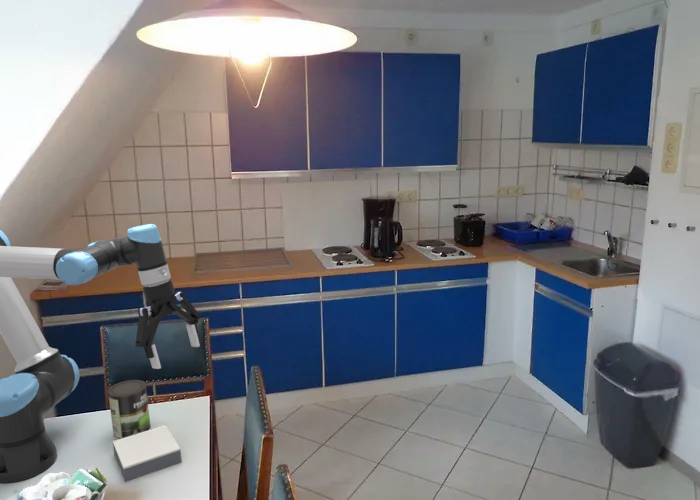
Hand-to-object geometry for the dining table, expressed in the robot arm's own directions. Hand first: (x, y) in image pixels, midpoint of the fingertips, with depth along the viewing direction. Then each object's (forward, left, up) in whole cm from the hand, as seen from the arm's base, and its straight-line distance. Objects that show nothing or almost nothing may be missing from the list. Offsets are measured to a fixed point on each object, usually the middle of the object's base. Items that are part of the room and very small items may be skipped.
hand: (177, 356), depth 142 cm
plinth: (+2, -11, -25) cm, 28 cm away
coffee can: (-14, -11, -26) cm, 31 cm away
